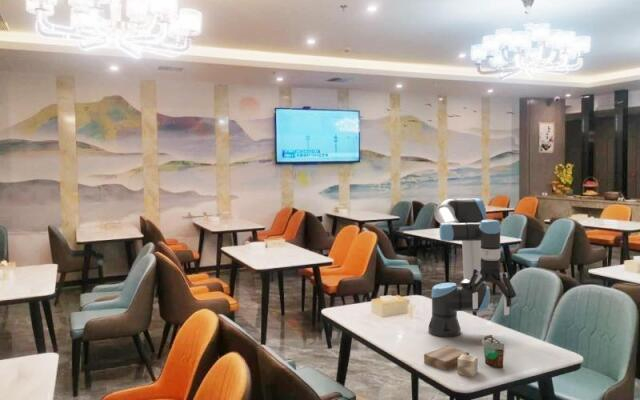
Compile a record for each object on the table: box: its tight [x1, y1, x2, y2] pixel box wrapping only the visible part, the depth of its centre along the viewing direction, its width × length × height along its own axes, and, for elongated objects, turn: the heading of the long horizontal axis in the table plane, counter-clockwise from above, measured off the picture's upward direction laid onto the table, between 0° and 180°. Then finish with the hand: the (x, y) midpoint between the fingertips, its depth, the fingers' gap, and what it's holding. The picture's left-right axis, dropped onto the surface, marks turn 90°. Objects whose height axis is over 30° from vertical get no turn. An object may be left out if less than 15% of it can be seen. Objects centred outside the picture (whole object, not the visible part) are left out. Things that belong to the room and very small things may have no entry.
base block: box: [423, 345, 470, 371], centre depth 215 cm, size 11×15×4 cm
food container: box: [481, 334, 505, 369], centre depth 211 cm, size 12×6×10 cm, turn 5°
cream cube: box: [457, 354, 479, 377], centre depth 203 cm, size 6×6×6 cm
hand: (490, 311), depth 210 cm, fingers open, 13 cm apart
